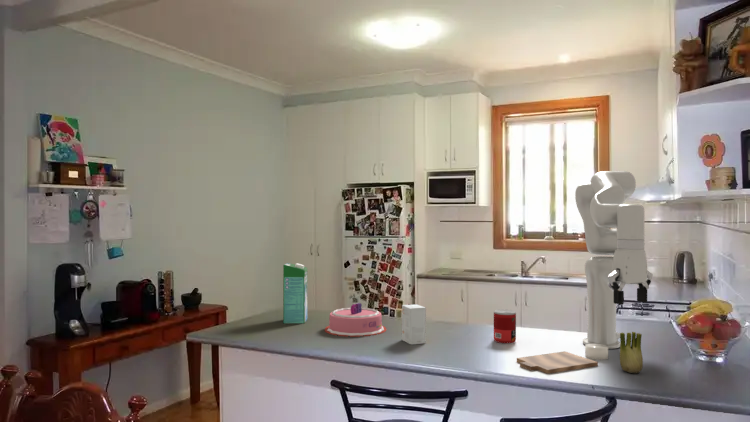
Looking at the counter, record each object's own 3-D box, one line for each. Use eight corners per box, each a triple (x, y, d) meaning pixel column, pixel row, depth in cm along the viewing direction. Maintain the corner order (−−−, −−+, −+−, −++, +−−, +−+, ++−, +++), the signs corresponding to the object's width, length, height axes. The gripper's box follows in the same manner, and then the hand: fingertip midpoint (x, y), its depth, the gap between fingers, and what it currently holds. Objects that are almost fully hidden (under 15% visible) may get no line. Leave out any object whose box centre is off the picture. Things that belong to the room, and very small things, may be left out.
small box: (426, 343, 199) (426, 307, 199) (410, 344, 197) (410, 308, 197) (416, 338, 207) (417, 303, 207) (401, 339, 204) (401, 304, 204)
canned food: (516, 344, 198) (516, 313, 198) (493, 343, 200) (493, 312, 200) (515, 339, 206) (515, 309, 206) (493, 338, 207) (493, 309, 207)
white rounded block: (596, 353, 186) (596, 342, 186) (612, 358, 180) (613, 347, 180) (580, 355, 183) (580, 344, 183) (597, 361, 177) (597, 349, 177)
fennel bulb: (618, 372, 164) (618, 331, 164) (623, 368, 168) (624, 329, 168) (639, 376, 161) (639, 335, 160) (644, 372, 164) (644, 332, 164)
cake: (365, 340, 205) (365, 311, 205) (311, 332, 218) (311, 305, 218) (397, 328, 226) (397, 302, 226) (346, 321, 239) (346, 297, 239)
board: (564, 354, 184) (564, 351, 184) (597, 365, 171) (597, 362, 171) (510, 362, 174) (510, 358, 174) (541, 374, 161) (541, 370, 161)
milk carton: (304, 323, 233) (304, 264, 233) (283, 323, 233) (283, 264, 233) (307, 319, 242) (307, 262, 242) (286, 319, 242) (287, 262, 242)
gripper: (640, 244, 171) (640, 299, 171) (599, 245, 164) (599, 302, 164) (661, 245, 165) (661, 303, 164) (619, 246, 157) (619, 306, 157)
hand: (630, 302), depth 164 cm, fingers open, 9 cm apart
